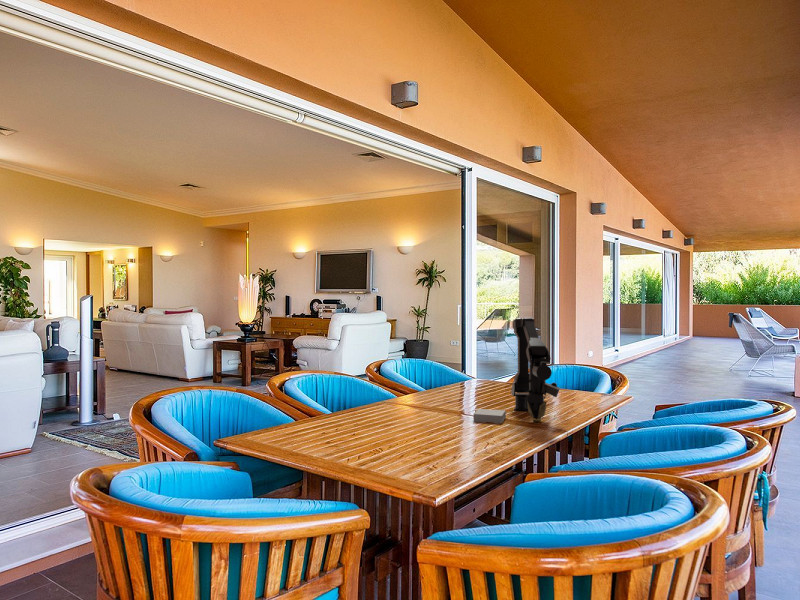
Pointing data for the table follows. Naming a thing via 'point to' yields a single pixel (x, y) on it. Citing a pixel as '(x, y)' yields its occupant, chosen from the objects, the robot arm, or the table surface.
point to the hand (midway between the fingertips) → (536, 416)
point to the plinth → (489, 415)
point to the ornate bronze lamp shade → (540, 414)
